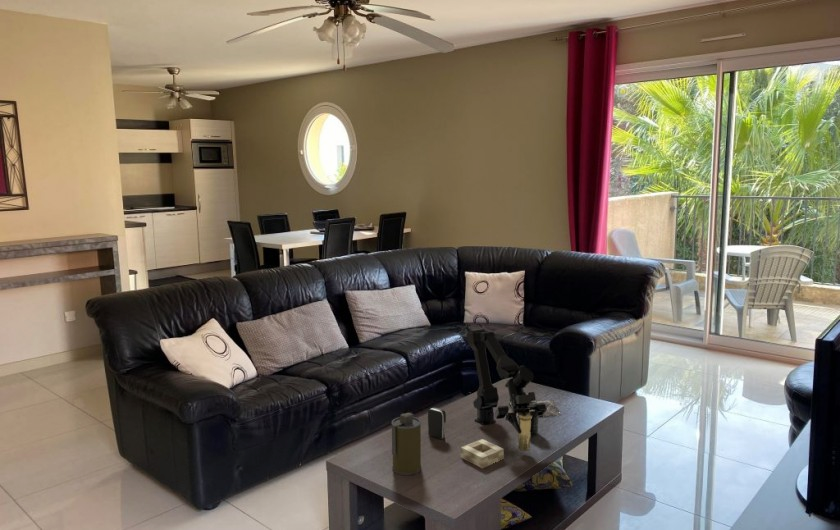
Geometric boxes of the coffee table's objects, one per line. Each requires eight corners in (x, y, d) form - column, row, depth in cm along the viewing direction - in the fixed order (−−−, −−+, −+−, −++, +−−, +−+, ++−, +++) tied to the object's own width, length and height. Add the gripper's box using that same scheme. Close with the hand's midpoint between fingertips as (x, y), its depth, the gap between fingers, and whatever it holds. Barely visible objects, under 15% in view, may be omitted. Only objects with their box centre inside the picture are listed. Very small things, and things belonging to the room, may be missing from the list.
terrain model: (515, 419, 262) (515, 412, 261) (508, 406, 277) (508, 399, 276) (562, 418, 263) (562, 410, 262) (553, 404, 277) (553, 398, 277)
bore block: (460, 457, 226) (461, 447, 225) (482, 448, 233) (482, 438, 232) (482, 468, 217) (482, 457, 217) (503, 459, 224) (503, 448, 224)
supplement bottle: (538, 437, 242) (538, 408, 240) (520, 436, 243) (521, 407, 242) (538, 430, 249) (539, 402, 247) (521, 429, 250) (521, 401, 248)
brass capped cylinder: (514, 449, 227) (515, 415, 224) (520, 443, 231) (521, 411, 229) (527, 452, 224) (528, 418, 222) (533, 447, 228) (534, 414, 226)
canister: (409, 458, 225) (408, 406, 222) (427, 469, 217) (427, 415, 214) (385, 467, 218) (384, 414, 215) (403, 478, 210) (402, 423, 207)
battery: (447, 436, 243) (447, 409, 242) (441, 440, 240) (441, 412, 239) (433, 432, 248) (433, 405, 246) (427, 435, 245) (427, 408, 243)
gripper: (497, 385, 226) (506, 426, 217) (545, 382, 229) (556, 422, 220) (491, 398, 235) (499, 437, 226) (537, 395, 238) (547, 434, 229)
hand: (525, 432), depth 225 cm, fingers closed on brass capped cylinder, 4 cm apart
